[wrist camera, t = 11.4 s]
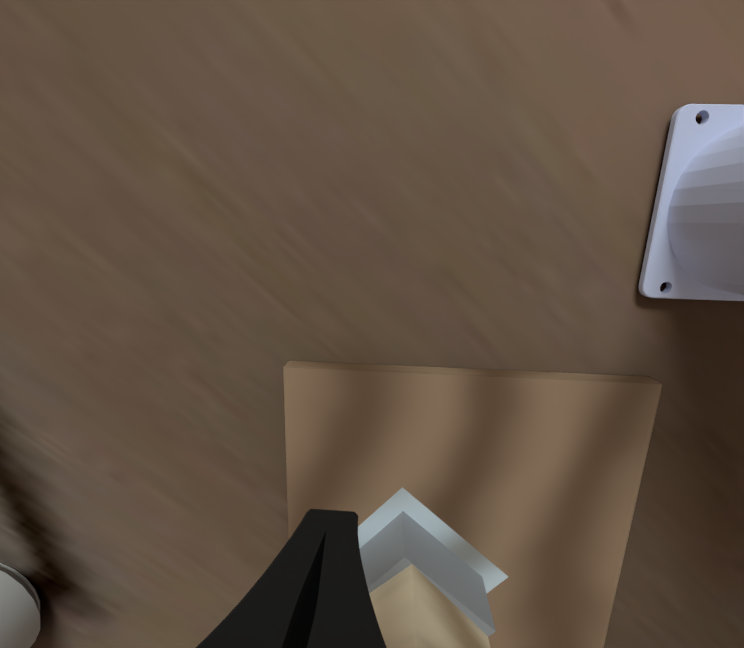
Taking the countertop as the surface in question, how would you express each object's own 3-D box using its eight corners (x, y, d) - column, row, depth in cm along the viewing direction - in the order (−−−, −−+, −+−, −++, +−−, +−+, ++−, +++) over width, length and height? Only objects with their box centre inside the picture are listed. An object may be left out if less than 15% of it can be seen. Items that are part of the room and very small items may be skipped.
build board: (649, 376, 19) (663, 384, 18) (589, 653, 24) (598, 672, 23) (288, 360, 20) (283, 368, 19) (295, 632, 25) (291, 649, 24)
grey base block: (482, 576, 22) (495, 631, 19) (406, 635, 23) (408, 694, 20) (402, 510, 21) (404, 557, 18) (329, 575, 22) (319, 627, 19)
